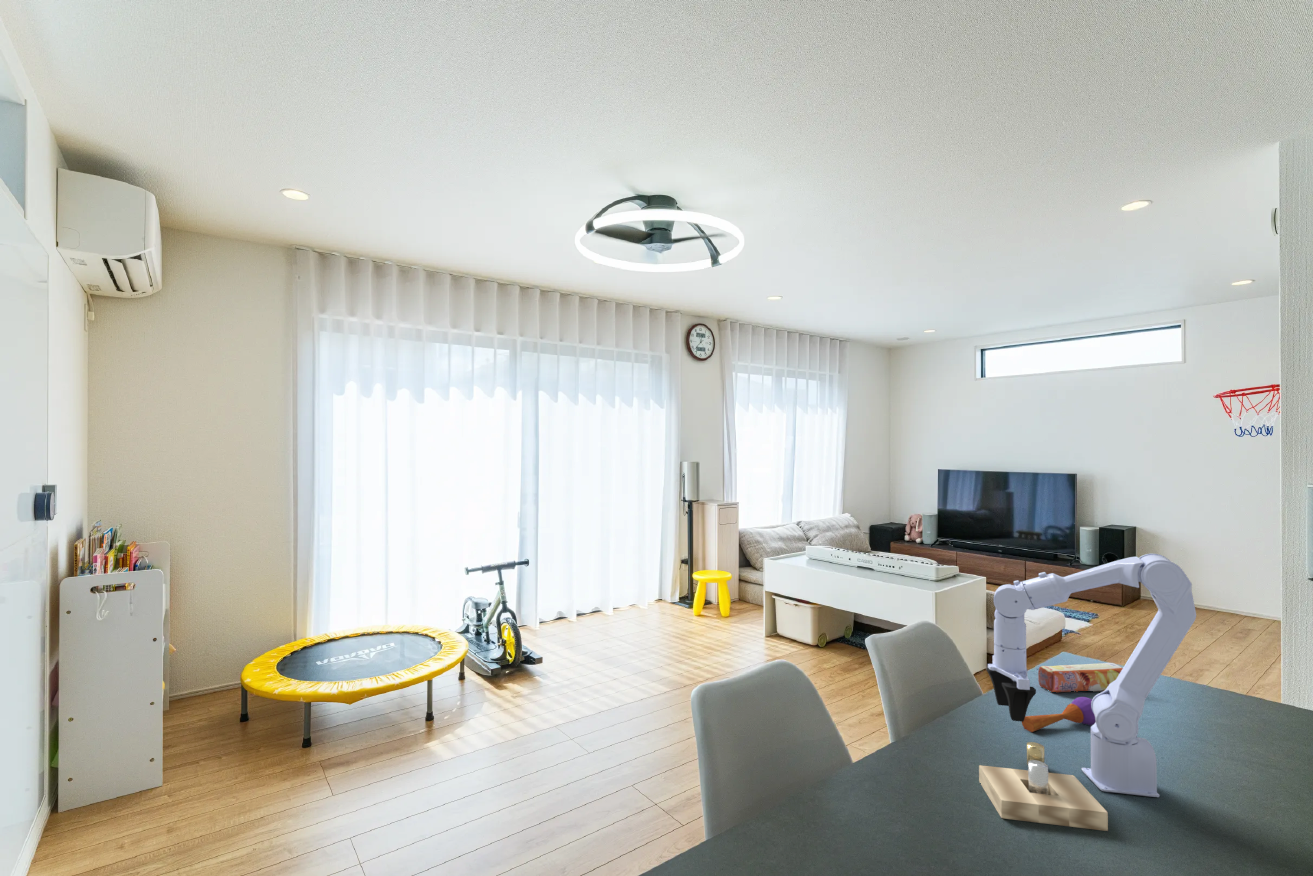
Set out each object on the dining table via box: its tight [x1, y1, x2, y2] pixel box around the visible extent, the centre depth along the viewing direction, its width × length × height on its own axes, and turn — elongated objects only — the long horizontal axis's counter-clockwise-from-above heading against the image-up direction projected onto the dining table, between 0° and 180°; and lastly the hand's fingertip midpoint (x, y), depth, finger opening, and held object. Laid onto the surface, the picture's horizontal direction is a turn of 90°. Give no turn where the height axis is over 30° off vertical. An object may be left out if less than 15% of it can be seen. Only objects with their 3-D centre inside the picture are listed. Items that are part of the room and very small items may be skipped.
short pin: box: [1026, 741, 1045, 766], centre depth 121 cm, size 3×3×4 cm
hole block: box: [978, 765, 1109, 832], centre depth 108 cm, size 16×12×3 cm
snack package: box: [1037, 662, 1123, 693], centre depth 162 cm, size 21×7×7 cm, turn 95°
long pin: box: [1027, 760, 1049, 795], centre depth 108 cm, size 3×3×7 cm
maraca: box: [1021, 696, 1096, 733], centre depth 140 cm, size 6×6×20 cm
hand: (1010, 712), depth 124 cm, fingers open, 7 cm apart
